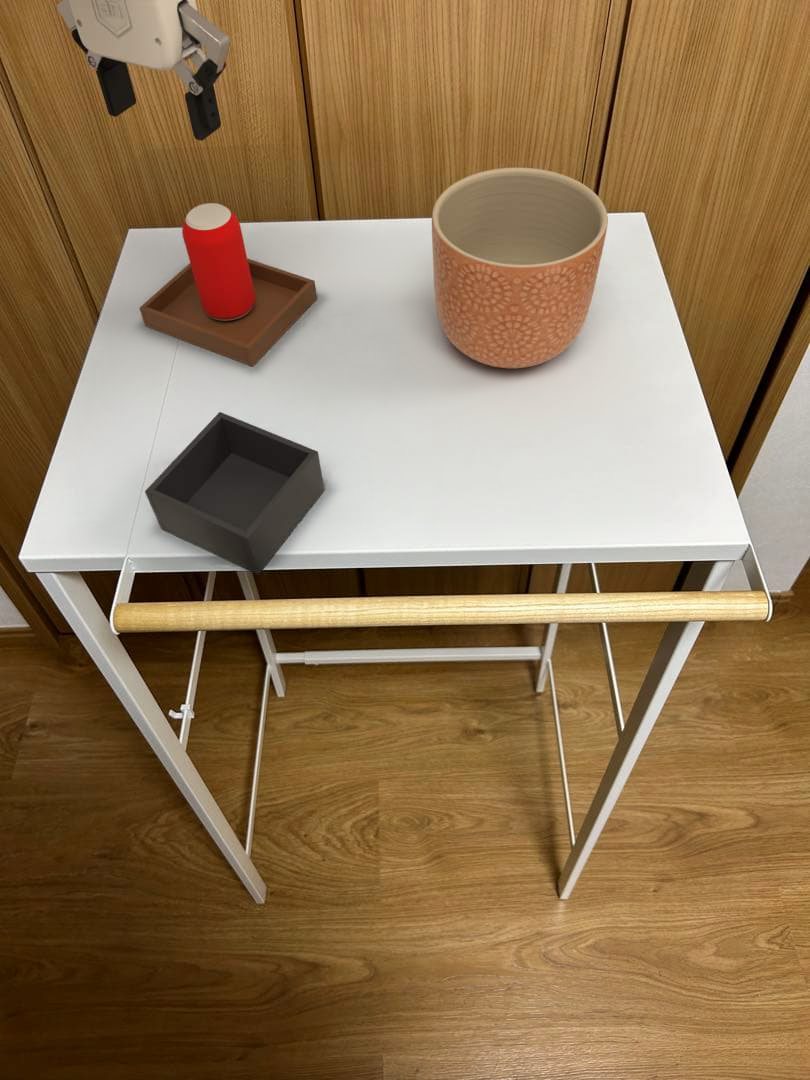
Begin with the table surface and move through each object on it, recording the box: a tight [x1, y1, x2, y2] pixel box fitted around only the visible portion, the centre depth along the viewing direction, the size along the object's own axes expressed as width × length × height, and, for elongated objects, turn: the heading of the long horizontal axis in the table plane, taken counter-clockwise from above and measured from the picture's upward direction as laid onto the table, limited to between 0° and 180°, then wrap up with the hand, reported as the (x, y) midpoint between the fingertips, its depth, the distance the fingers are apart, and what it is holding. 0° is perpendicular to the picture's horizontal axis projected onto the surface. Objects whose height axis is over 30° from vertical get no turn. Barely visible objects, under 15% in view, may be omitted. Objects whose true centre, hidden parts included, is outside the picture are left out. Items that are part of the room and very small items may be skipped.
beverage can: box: [181, 202, 255, 321], centre depth 92 cm, size 6×6×12 cm
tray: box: [138, 257, 318, 367], centre depth 96 cm, size 15×13×3 cm
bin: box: [144, 411, 325, 576], centre depth 77 cm, size 11×11×6 cm
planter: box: [431, 167, 609, 369], centre depth 87 cm, size 17×17×15 cm
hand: (165, 121), depth 75 cm, fingers open, 9 cm apart
